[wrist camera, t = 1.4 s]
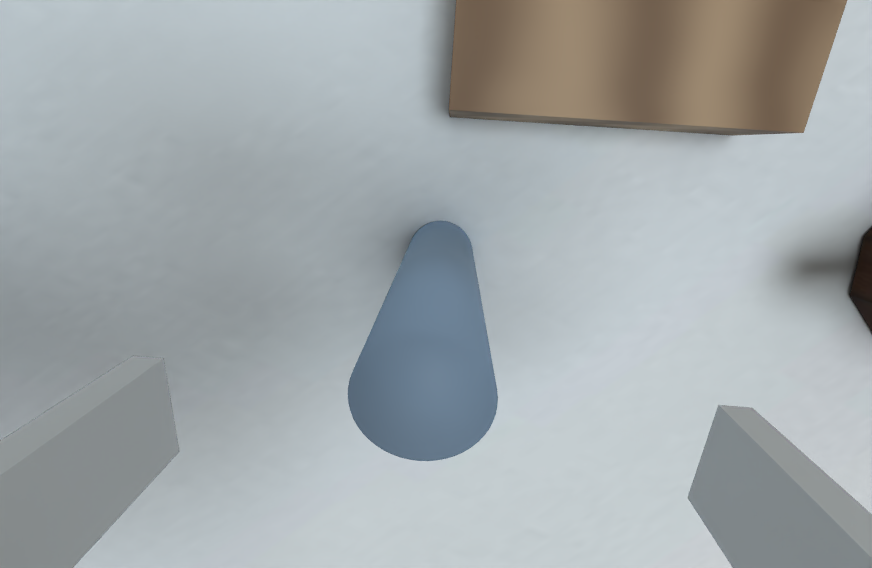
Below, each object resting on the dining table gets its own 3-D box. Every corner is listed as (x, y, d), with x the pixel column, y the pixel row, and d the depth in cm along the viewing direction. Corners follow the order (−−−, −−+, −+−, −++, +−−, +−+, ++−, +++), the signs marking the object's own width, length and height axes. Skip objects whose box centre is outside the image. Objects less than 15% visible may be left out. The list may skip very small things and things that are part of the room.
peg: (408, 279, 27) (348, 455, 12) (410, 218, 25) (347, 326, 10) (469, 284, 27) (489, 466, 12) (474, 223, 25) (506, 338, 10)
